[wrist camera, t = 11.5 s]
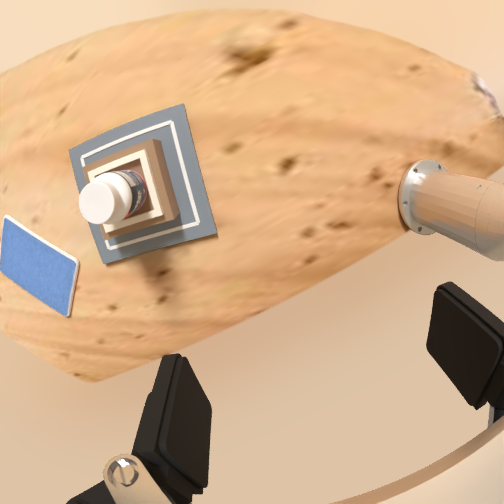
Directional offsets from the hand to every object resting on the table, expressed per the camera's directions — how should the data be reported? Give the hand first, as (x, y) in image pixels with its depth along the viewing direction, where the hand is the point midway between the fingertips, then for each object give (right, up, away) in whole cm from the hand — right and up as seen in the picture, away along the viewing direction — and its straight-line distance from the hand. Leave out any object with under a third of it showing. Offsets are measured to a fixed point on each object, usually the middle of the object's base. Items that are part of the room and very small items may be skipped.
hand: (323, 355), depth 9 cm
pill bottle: (-17, +11, +21) cm, 29 cm away
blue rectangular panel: (-41, +1, +28) cm, 50 cm away
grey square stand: (-18, +12, +26) cm, 34 cm away
